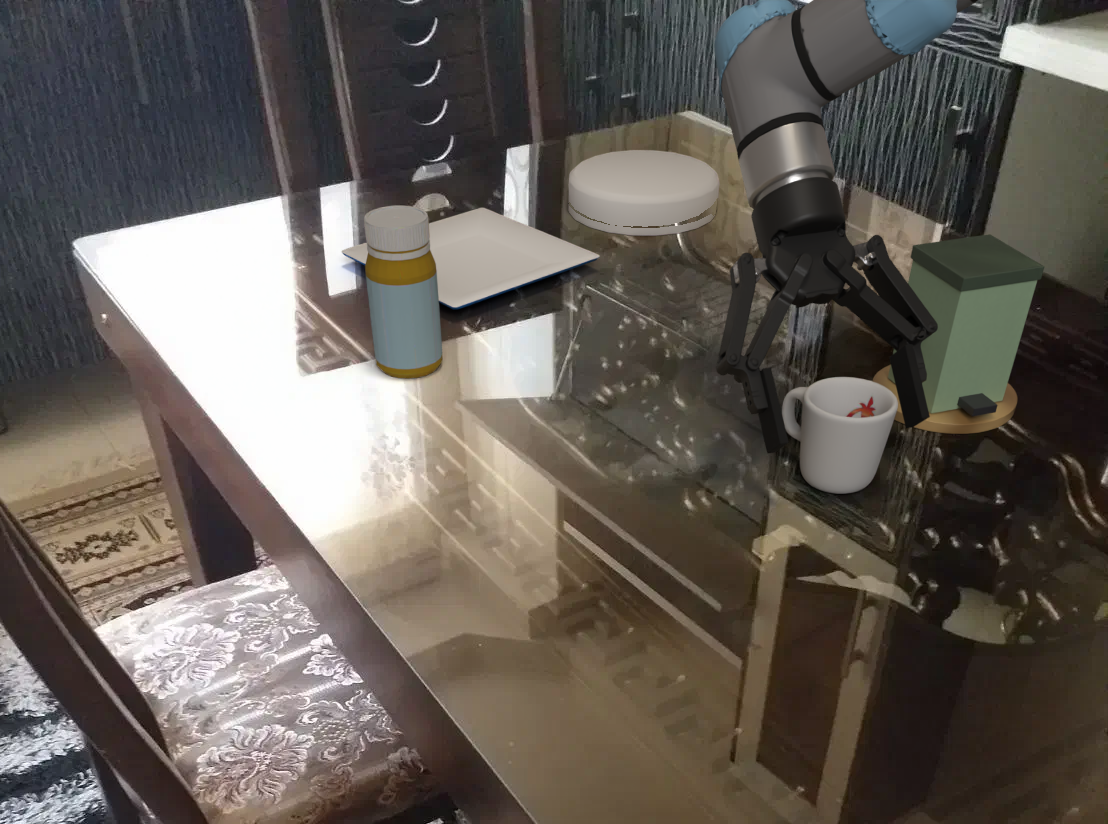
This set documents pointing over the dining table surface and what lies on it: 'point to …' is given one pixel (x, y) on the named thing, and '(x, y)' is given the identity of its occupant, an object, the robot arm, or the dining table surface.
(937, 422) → the disc
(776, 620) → the dining table surface
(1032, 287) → the bin
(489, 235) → the plate
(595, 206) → the container
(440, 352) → the bottle
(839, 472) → the cup
